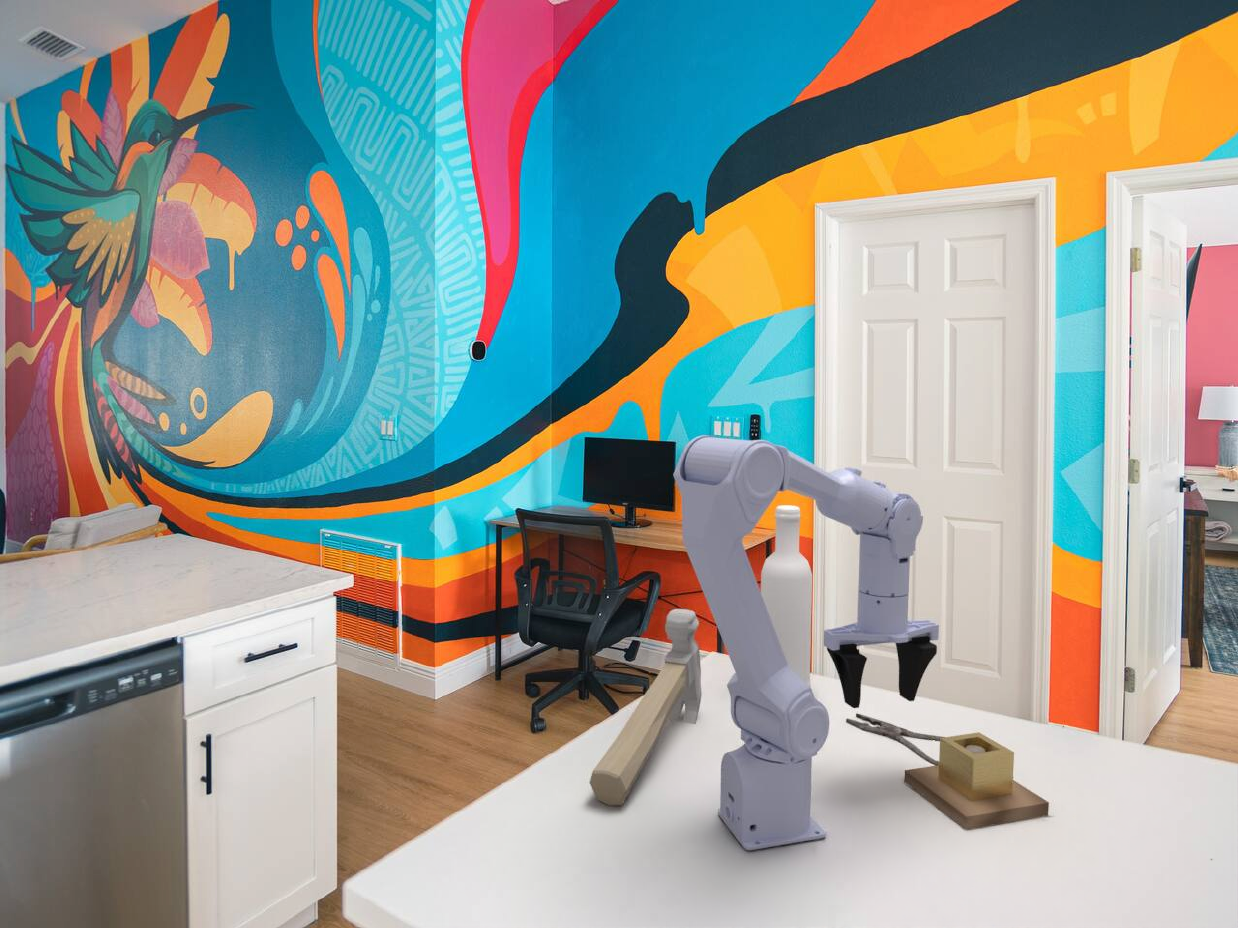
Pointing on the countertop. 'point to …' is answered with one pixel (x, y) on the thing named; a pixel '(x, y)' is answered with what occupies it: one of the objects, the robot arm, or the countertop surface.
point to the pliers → (894, 734)
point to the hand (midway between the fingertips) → (879, 701)
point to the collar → (976, 766)
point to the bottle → (789, 591)
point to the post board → (979, 811)
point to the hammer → (654, 711)
